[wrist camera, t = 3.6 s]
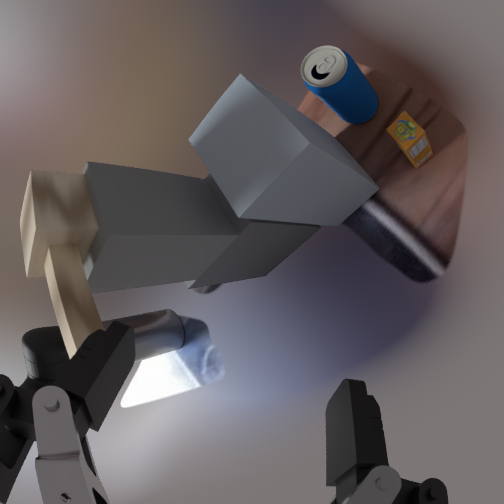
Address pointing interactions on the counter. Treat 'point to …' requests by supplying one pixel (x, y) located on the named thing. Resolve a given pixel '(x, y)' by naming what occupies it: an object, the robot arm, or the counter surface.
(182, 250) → the tall tower
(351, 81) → the beverage can
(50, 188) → the mallet
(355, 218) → the counter surface
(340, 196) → the grey tall block
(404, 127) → the supplement box
